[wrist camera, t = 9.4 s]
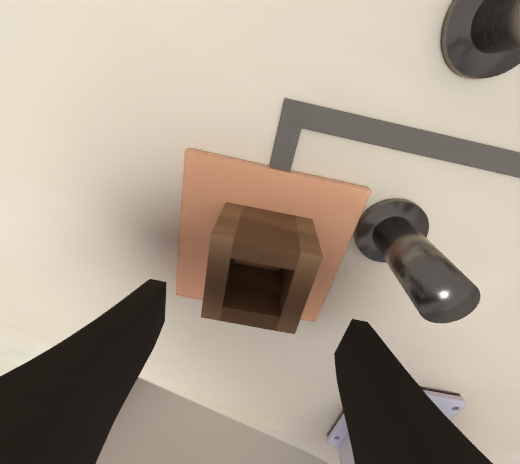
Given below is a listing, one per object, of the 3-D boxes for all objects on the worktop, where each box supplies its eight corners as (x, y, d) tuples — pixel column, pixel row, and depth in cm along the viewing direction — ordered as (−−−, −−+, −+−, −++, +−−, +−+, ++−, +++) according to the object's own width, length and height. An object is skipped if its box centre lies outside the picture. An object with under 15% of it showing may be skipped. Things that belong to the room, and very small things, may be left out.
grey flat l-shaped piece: (494, 224, 14) (496, 226, 13) (267, 175, 13) (267, 176, 13) (541, 157, 12) (545, 158, 12) (284, 98, 11) (285, 98, 11)
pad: (314, 315, 17) (315, 321, 17) (178, 289, 17) (175, 294, 16) (368, 187, 13) (371, 190, 13) (188, 148, 13) (185, 150, 12)
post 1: (405, 263, 15) (467, 345, 10) (344, 251, 15) (378, 328, 10) (438, 206, 13) (531, 272, 8) (370, 192, 13) (425, 250, 8)
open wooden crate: (291, 286, 16) (294, 333, 12) (216, 272, 15) (200, 317, 12) (312, 218, 13) (323, 256, 10) (225, 201, 13) (210, 235, 10)
